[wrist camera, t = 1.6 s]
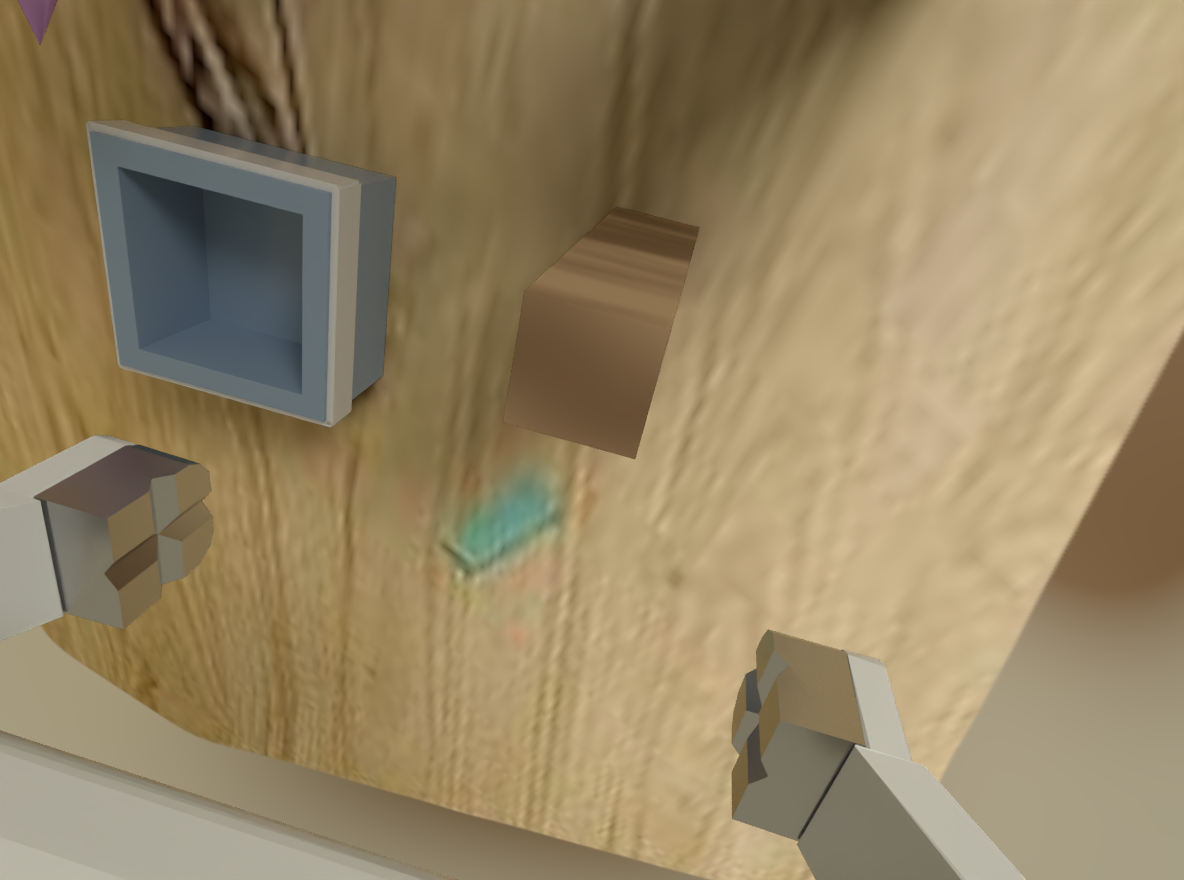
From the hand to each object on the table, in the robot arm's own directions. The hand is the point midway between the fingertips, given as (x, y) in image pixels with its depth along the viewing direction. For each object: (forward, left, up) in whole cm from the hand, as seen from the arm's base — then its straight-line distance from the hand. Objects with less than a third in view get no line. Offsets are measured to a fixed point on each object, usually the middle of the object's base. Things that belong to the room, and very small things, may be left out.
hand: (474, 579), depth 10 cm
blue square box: (+4, -16, -22) cm, 27 cm away
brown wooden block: (0, 0, -22) cm, 22 cm away
